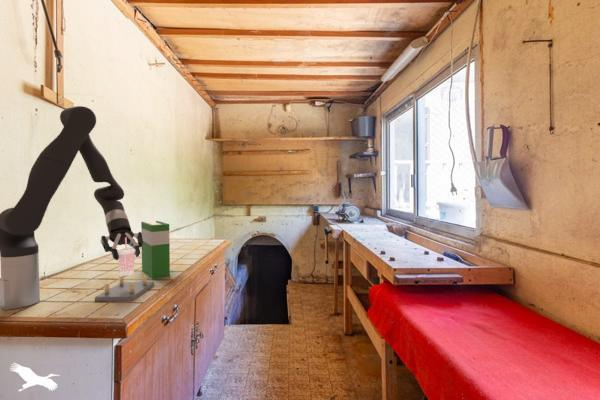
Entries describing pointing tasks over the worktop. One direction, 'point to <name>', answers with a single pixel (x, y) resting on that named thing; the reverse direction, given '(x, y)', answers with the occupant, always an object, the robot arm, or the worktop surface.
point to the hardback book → (155, 249)
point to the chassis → (124, 290)
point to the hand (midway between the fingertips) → (127, 257)
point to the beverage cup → (126, 260)
